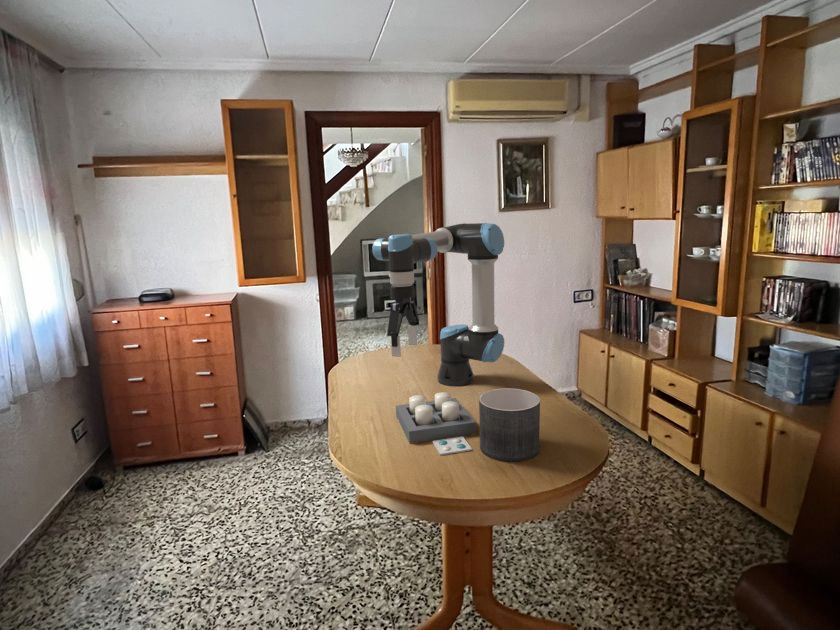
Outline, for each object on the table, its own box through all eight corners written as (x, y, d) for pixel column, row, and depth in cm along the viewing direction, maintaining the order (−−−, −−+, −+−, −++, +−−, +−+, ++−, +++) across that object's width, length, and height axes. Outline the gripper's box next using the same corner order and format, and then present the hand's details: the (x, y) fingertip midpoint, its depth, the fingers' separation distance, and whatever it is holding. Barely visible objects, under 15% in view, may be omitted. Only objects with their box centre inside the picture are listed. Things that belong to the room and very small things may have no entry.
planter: (541, 463, 147) (541, 411, 143) (478, 460, 150) (477, 409, 147) (538, 435, 164) (538, 388, 160) (481, 433, 167) (480, 387, 164)
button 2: (430, 419, 173) (429, 403, 171) (434, 426, 167) (434, 410, 166) (414, 421, 171) (413, 406, 170) (418, 428, 166) (417, 412, 165)
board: (455, 408, 188) (455, 397, 187) (476, 433, 167) (475, 422, 166) (396, 416, 183) (395, 405, 182) (409, 443, 162) (409, 431, 161)
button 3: (448, 406, 183) (448, 391, 182) (453, 412, 178) (452, 396, 177) (433, 408, 182) (432, 393, 181) (437, 414, 177) (437, 399, 175)
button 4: (456, 415, 175) (455, 400, 173) (461, 422, 169) (461, 406, 168) (440, 418, 173) (439, 402, 172) (445, 424, 168) (444, 408, 167)
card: (462, 437, 165) (462, 435, 164) (472, 450, 156) (472, 448, 156) (432, 442, 162) (432, 440, 162) (440, 455, 154) (440, 453, 154)
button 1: (424, 409, 181) (423, 394, 180) (427, 415, 176) (427, 400, 175) (408, 411, 180) (407, 396, 179) (411, 417, 175) (411, 402, 173)
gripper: (406, 278, 174) (409, 339, 178) (373, 290, 151) (377, 360, 156) (427, 279, 171) (429, 341, 176) (397, 291, 149) (400, 362, 153)
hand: (405, 350), depth 166 cm, fingers open, 13 cm apart
